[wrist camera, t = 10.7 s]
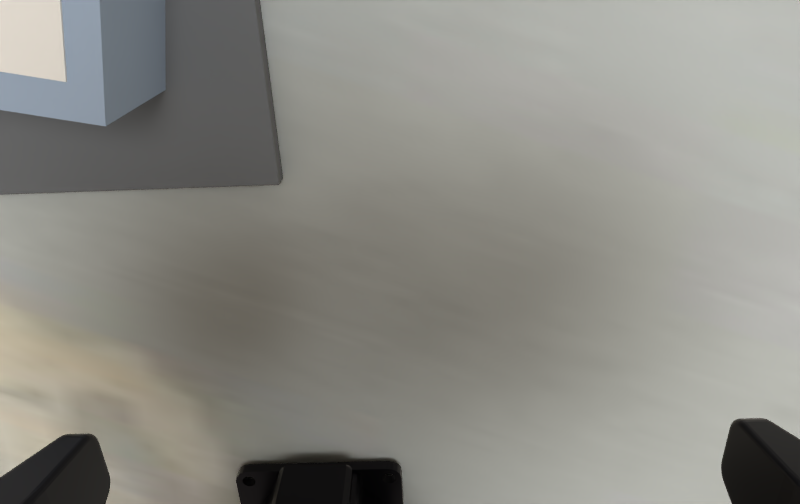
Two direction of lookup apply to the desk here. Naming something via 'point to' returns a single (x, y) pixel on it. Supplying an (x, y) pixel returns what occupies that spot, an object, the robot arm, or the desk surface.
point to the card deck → (81, 57)
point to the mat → (165, 118)
